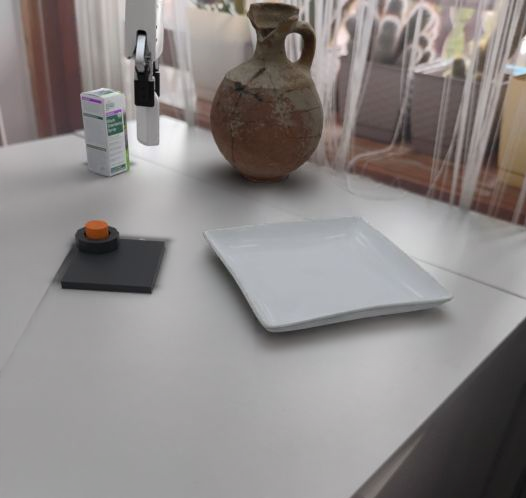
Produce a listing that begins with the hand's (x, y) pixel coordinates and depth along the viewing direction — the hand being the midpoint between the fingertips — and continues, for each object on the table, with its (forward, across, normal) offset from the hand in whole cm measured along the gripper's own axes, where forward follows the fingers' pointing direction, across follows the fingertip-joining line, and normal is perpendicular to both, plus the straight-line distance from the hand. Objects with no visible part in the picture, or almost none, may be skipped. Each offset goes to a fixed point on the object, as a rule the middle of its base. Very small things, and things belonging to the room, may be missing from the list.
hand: (147, 100), depth 105 cm
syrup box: (+16, -9, -9) cm, 21 cm away
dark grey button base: (+16, +30, 0) cm, 34 cm away
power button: (+14, +25, -4) cm, 29 cm away
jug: (+15, -13, +21) cm, 29 cm away
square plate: (+16, +31, +29) cm, 45 cm away
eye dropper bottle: (+7, 0, 0) cm, 7 cm away
